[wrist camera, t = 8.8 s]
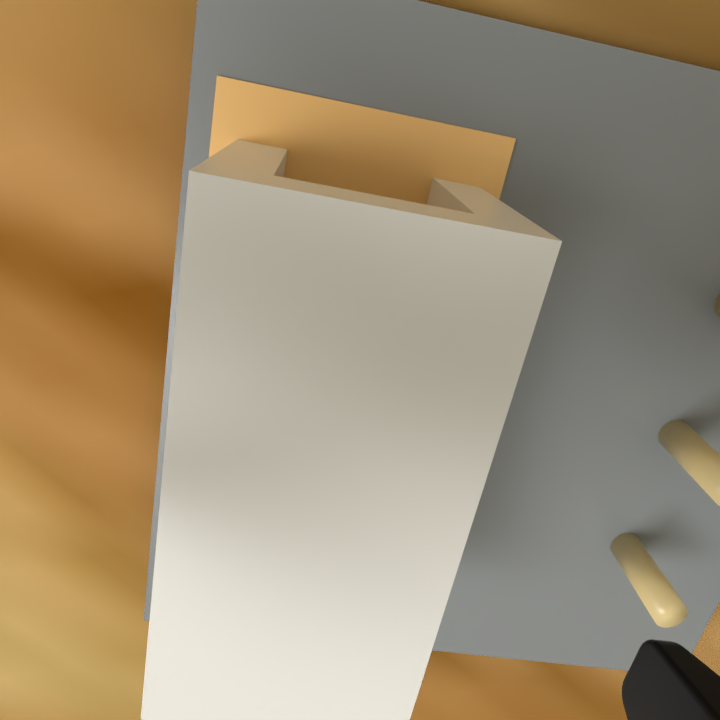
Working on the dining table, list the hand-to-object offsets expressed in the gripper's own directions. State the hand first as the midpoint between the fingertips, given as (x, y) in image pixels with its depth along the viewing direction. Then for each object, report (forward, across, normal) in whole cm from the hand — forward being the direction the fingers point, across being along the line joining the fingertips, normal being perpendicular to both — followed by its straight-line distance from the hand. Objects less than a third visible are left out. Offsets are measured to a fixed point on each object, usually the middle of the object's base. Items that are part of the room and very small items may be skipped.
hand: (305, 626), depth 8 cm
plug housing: (+7, 0, 0) cm, 7 cm away
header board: (+8, -5, 0) cm, 10 cm away
